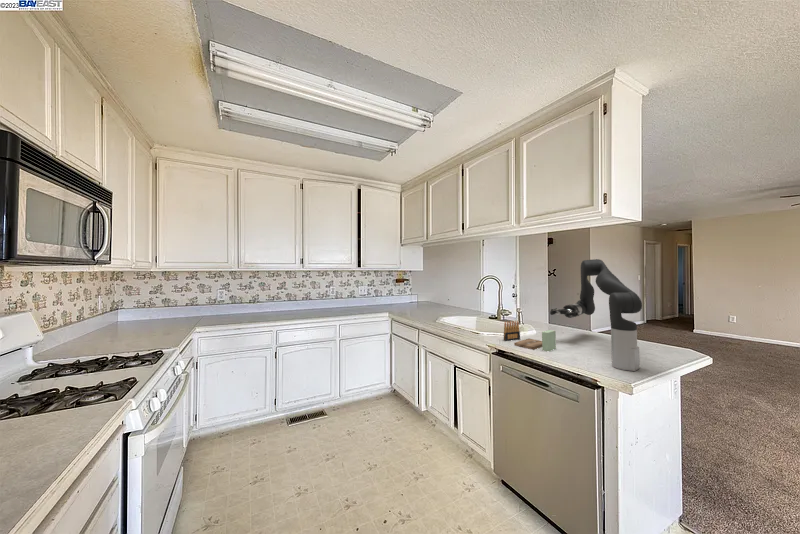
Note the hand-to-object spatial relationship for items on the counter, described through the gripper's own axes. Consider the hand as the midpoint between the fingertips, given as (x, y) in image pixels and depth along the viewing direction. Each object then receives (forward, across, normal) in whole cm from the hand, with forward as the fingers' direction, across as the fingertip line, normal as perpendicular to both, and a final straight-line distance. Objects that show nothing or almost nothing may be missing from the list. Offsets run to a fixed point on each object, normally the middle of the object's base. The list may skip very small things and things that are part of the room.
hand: (558, 313), depth 168 cm
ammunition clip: (+8, -25, +18) cm, 32 cm away
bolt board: (+10, -11, +18) cm, 23 cm away
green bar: (+11, 0, +18) cm, 21 cm away
